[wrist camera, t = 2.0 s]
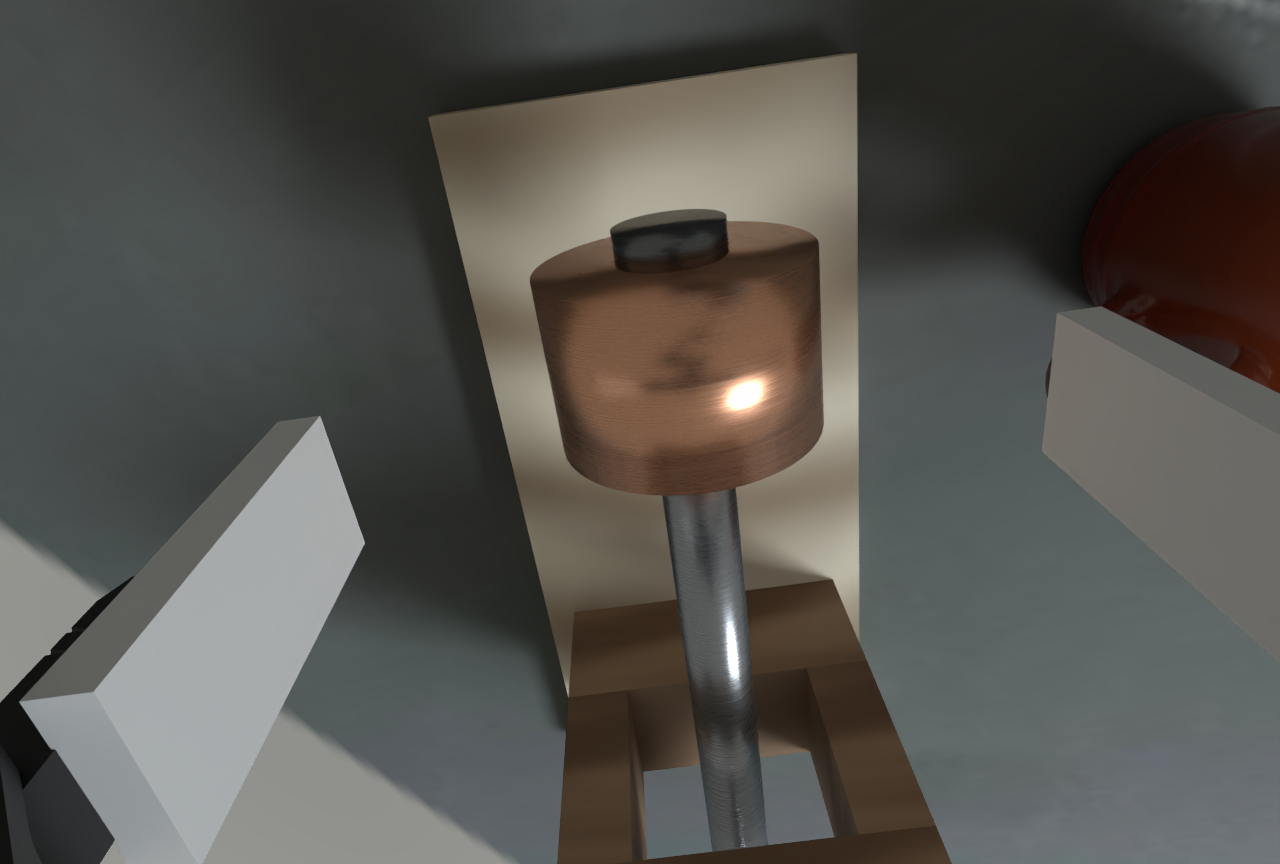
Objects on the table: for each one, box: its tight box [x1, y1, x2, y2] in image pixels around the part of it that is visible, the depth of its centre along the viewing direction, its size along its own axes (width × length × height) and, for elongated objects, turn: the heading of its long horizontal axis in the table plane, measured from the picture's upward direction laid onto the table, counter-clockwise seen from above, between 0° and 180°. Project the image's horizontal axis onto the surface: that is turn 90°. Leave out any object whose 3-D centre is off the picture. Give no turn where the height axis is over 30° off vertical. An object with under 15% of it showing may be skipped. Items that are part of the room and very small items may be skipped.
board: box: [428, 53, 859, 697], centre depth 27 cm, size 26×12×1 cm, turn 8°
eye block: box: [557, 579, 952, 864], centre depth 24 cm, size 4×10×13 cm, turn 98°
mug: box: [1045, 106, 1280, 398], centre depth 20 cm, size 12×9×10 cm
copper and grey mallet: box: [530, 209, 824, 852], centre depth 21 cm, size 24×6×6 cm, turn 8°
